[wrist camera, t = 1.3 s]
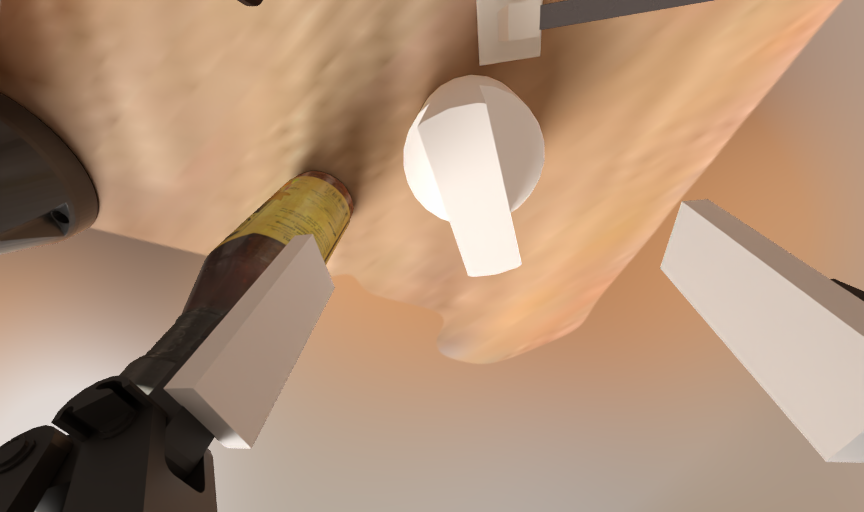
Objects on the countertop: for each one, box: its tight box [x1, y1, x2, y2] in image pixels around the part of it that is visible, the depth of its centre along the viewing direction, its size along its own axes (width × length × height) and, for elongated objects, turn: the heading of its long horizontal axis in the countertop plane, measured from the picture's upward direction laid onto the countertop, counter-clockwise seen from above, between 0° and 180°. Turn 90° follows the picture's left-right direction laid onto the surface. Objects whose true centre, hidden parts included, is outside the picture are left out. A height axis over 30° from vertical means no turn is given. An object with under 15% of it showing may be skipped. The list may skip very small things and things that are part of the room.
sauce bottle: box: [119, 171, 353, 395], centre depth 21 cm, size 6×6×20 cm
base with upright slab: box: [404, 75, 544, 277], centre depth 20 cm, size 9×9×12 cm
